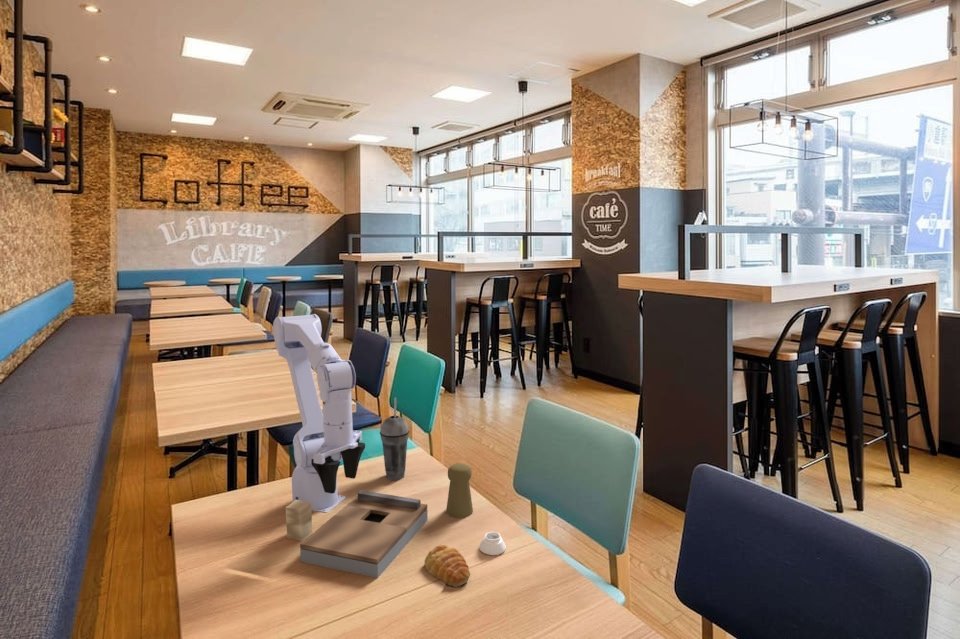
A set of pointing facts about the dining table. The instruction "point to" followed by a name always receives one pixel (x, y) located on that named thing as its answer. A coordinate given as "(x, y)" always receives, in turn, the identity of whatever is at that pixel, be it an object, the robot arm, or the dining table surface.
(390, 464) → the beverage cup
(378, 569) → the shallow grey box
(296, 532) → the block
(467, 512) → the olive pawn figure
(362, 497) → the lid
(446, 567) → the pastry
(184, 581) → the dining table surface
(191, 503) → the dining table surface
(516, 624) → the dining table surface
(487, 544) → the white upturned bowl
